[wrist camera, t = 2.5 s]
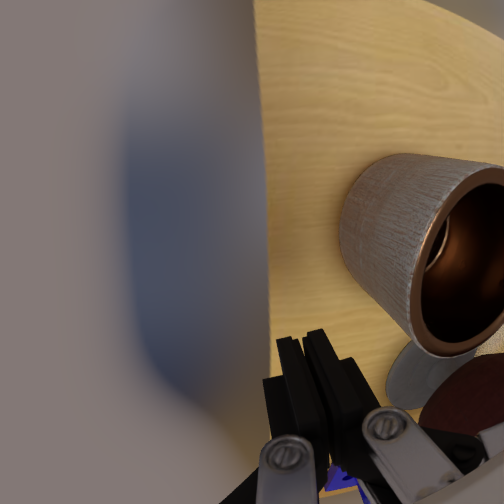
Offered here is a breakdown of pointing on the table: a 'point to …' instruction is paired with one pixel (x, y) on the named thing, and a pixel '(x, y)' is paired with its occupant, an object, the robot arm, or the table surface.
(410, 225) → the planter
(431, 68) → the table surface
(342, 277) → the table surface
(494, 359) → the mate gourd
